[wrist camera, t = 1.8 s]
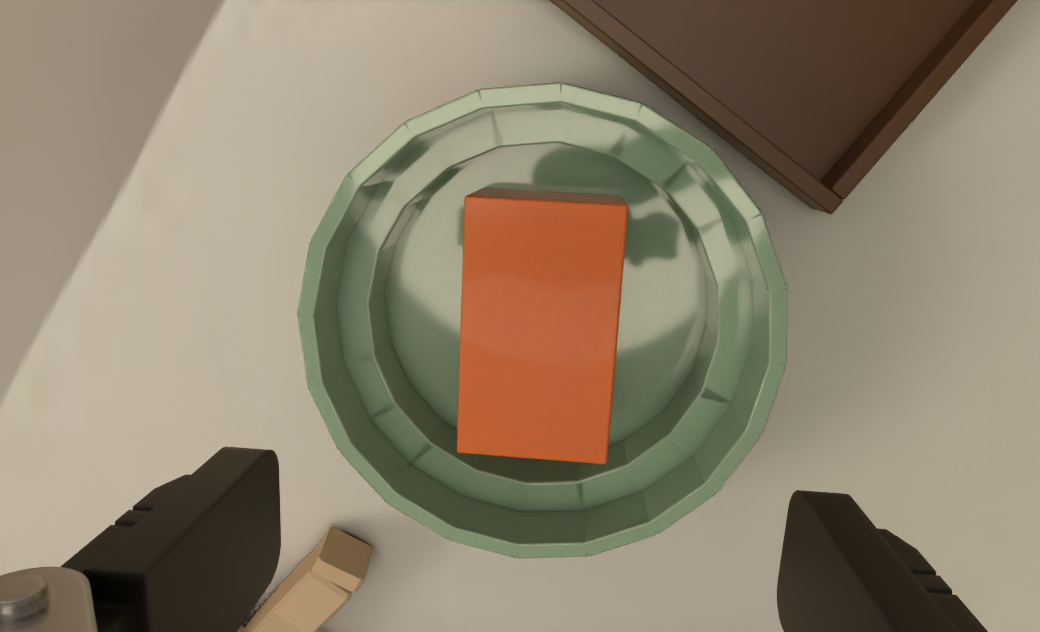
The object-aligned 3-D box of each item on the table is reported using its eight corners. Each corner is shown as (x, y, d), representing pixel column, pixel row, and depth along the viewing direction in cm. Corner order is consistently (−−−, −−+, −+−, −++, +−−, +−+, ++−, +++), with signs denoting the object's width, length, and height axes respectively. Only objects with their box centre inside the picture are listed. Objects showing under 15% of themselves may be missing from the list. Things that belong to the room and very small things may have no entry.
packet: (480, 187, 26) (463, 195, 22) (622, 195, 26) (629, 204, 22) (472, 410, 28) (455, 453, 24) (603, 420, 28) (607, 465, 24)
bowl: (668, 24, 25) (689, -4, 20) (803, 416, 28) (851, 474, 23) (281, 191, 27) (217, 202, 23) (441, 537, 30) (415, 612, 25)
